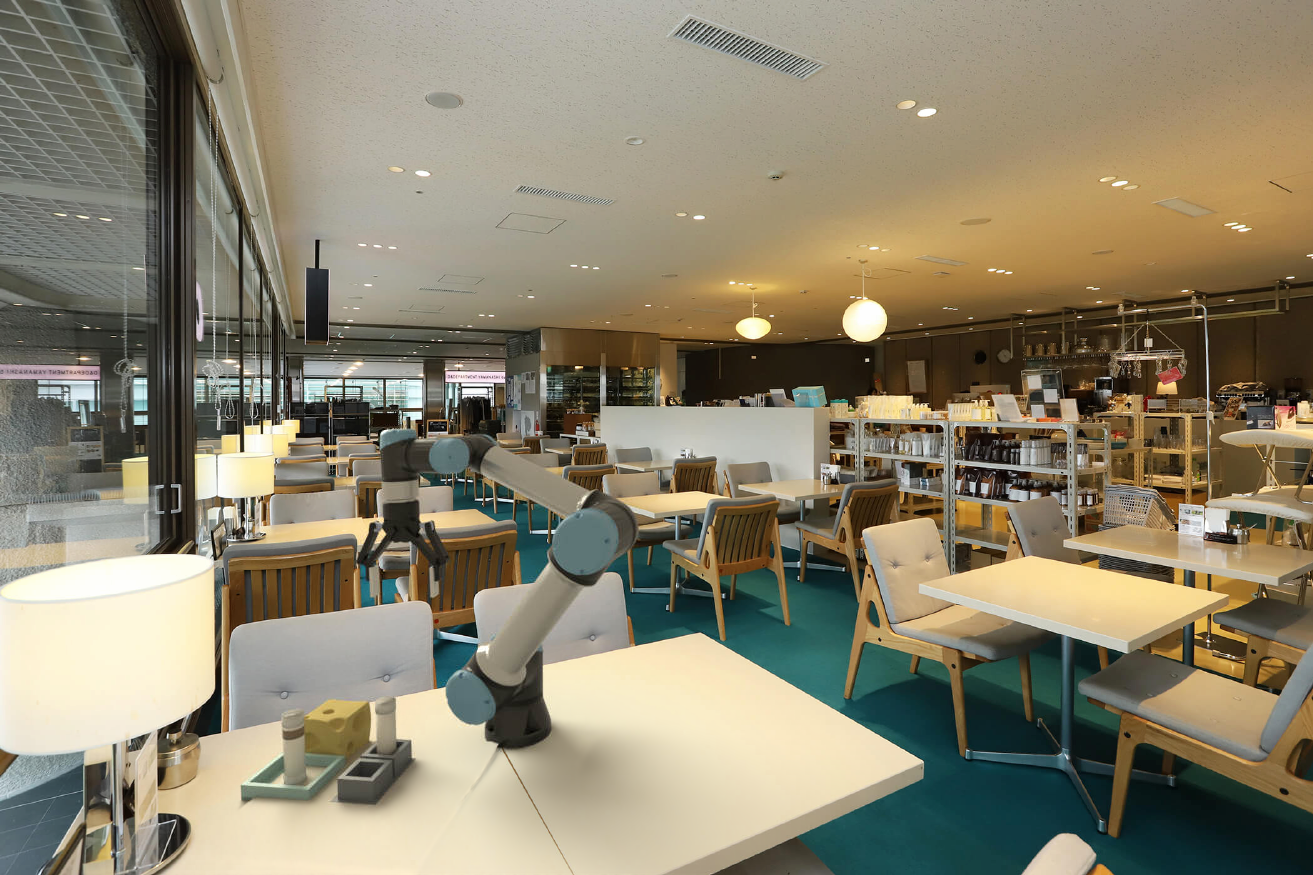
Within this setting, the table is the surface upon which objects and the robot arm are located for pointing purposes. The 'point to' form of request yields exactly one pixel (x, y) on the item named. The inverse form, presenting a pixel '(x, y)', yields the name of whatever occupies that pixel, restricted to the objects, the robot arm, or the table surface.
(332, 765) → the pale green rectangular frame
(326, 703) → the cheese
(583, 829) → the table surface
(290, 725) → the banded white cylinder
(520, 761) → the table surface
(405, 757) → the fuse block
